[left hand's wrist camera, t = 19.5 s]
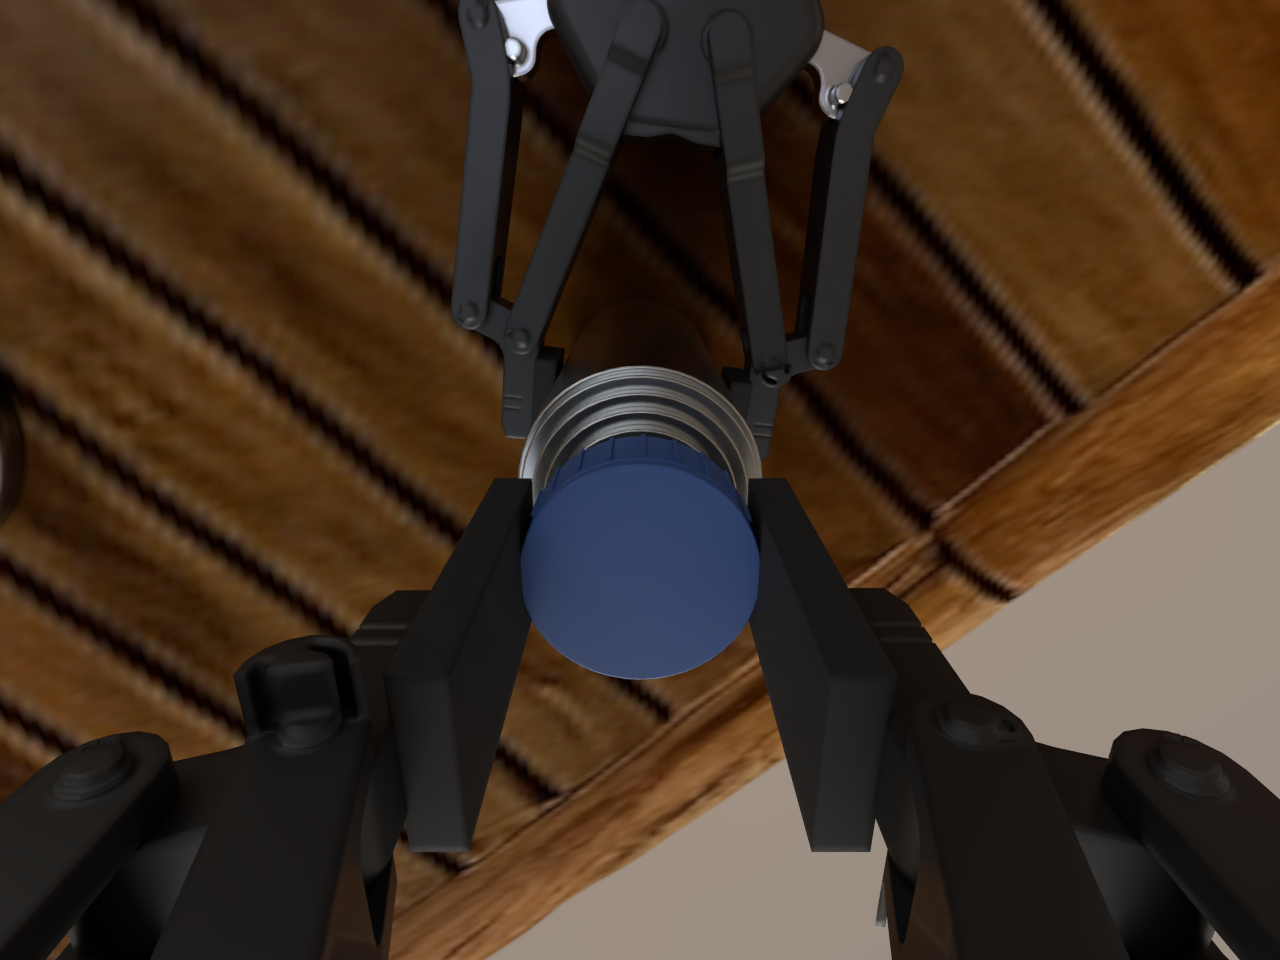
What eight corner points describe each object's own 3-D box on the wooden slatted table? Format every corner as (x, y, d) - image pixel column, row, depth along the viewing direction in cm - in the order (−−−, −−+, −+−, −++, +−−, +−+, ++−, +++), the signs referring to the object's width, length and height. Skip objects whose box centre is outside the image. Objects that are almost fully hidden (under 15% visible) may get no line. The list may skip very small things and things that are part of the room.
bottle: (643, 268, 30) (649, 338, 12) (735, 371, 31) (862, 570, 13) (544, 364, 31) (416, 555, 13) (636, 458, 33) (632, 742, 15)
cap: (779, 593, 15) (797, 638, 13) (583, 660, 15) (576, 711, 14) (706, 399, 13) (715, 422, 12) (492, 482, 14) (472, 516, 12)
